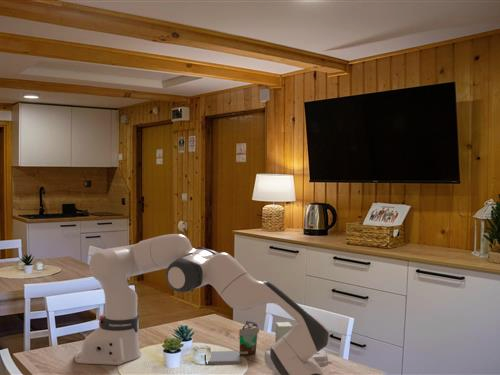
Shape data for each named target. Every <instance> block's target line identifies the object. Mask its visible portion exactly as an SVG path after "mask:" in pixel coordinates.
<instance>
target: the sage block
mask: <svg viewBox="0 0 500 375" xmlns="http://www.w3.org/2000/svg"><path fill="white" fill-rule="evenodd" d="M292 328H293V325H292V324H291V322H290V321H285V322H283V321H281V322H277V321H276V322H275V338H274V339H275V341H274V344H275V343H276V342H277V341H278V340H279V339H280V338H282V337H283V336H284V335H285V334H287V333H288V332H289V331H290V330H291V329H292Z"/></svg>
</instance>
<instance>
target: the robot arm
mask: <svg viewBox="0 0 500 375" xmlns="http://www.w3.org/2000/svg"><path fill="white" fill-rule="evenodd" d="M88 262H89V263H88V268H89V269H88V270H89V272H90V274H91V276H92V277H93V278H94V279H95V280H97V281H98V282H99V284H100V286H101V287H102V290H103V293H104V303H105V305H104V308H105V309H104V310H105V313H104V314H100V316H99V318H98V319H99V320H98V327H97V328H96V329H95V330H93V331H92V332H91V333H90V334H88V335H87V336H86V337H85V339H84V341H83V343H82V346H81V348H80V349H79V350H78V351H77V352H76V353H75V356H74V362H75V363H77V364H88V365H91V364H93V365H110V366H113V365H114V366H115V365H116V366H119V365H122V364H125V363H126V362H130V361H134V360H136V359H138V358H139V357H141V354H142V352H141V350H140V349H141V348H140V344H139V336H138V331H139V315H138V294H137V292H136V291H135V290H134V289H132V288H131V287H130V286H129V282H128V278H130V277H133V276H139V275H143V274H147V273H152V272H156V271H160V270H164V269H166V272H165V278H166V282H167V284H168V286H169V287H170V289H172V290H173V291H175V292H177V293H188V292H191V291H193V290H196V289H200V288H201V287H204V286H207V285H211V286H212V287H213V288H214V289H215V291H216V292H217V293H218V295H219V296H220V297H221V298H222V300H223V301H224V302H225V303H226V304H227V305H228V306H229V307H230V308H231V309H234V310H235V311H248V310H252V309H255V308H257V307H260V306H262V305H267V304H275V305H276V306H278V307H279V308H281V309H282V310H284V312H286V313H287V314H288V315H289V316H290V317H291V318H292V319H294V321H295V322H296V324H295V326H293V327H292V329H291V330H290V331H289V332H288V333H287V334H285V335H284V336H283V337H282V338H280V339H279V340H278V341H277V342H276V343H275V342H274V344H273V345H271V346H270V348H269V349H270V350H268V351H267V350H266V351H265V352H264V363H265V366H266V367H267V368H268V369H269V370H270V371H272V372H273V373H272V375H325V373H324V371H323V369H322V368H326V367H328V366H329V365H331V364H332V362H333V361H332V360H331V359H330V358H328V353H327V351H326V350H325V349H324V348H326V347H327V345H328V342H329V334H330V333H329V331H328V329H327V327H326V326H325V324H323V323H322V322H321V321H320V320H319V319H318V318H317V317H314V316H313V315H311V314H310V313H308V312H307V311H306V310H304V308H303V307H301V306H300V305H299V304H298V303H297V302H295V301H294V299H292V298H290V297H289V296H288V295H287V294H286V293H285V292H284V291H282V290H281V289H280V288H278V287H277V286H276V285H275V284H273V283H272V282H270V281H268V280H263V281H260V280H258V279H256V278H254V277H253V276H252V275H251V274H250V273H249V272H248V271H247V270H246V269H245V268H244V266H243V265H242V264H241V262H238V260H237V259H236V258H235V257H233V256H232V255H231V254H229V253H227V252H224V251H222V252H218V251H215V250H214V249H213V250H212V249H209V248H206V247H202V246H198V247H196V248H194V247H193V246H192V244H191V241H190V239H189V238H188V237H187V236H185V235H184V234H182V233H170V234H163V235H159V236H155V237H150V238H148V239H147V238H146V239H143V240H140V241H139V242H138V243H135V244H131V245H129V244H128V245H124V246H122V245H121V246H117V247H109V248H104V249H102V250H101V249H100V250H99V251H97V252H94V253H93V254H92V255H91V257H90V258H89V261H88Z"/></svg>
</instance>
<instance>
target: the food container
mask: <svg viewBox="0 0 500 375" xmlns="http://www.w3.org/2000/svg"><path fill="white" fill-rule="evenodd" d="M238 333H239V334H238V336H239V356H240V357H249V356H253V355H255V354H256V352H257V343H258V342H257V340H258V333H260V326H259V324H258V323H257V322H255V321H251V320H245V325H243V326H242V328H240V329H239V332H238Z"/></svg>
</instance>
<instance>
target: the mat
mask: <svg viewBox="0 0 500 375" xmlns="http://www.w3.org/2000/svg"><path fill="white" fill-rule="evenodd" d="M210 352H211V358H210V360H209V361H208V364H207V365H228V364H229V365H232V364H233V365H234V364H235V365H236V364H242V359H241V356H240V352H239V351H238V350H220V351H219V350H218V351H210Z"/></svg>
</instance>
